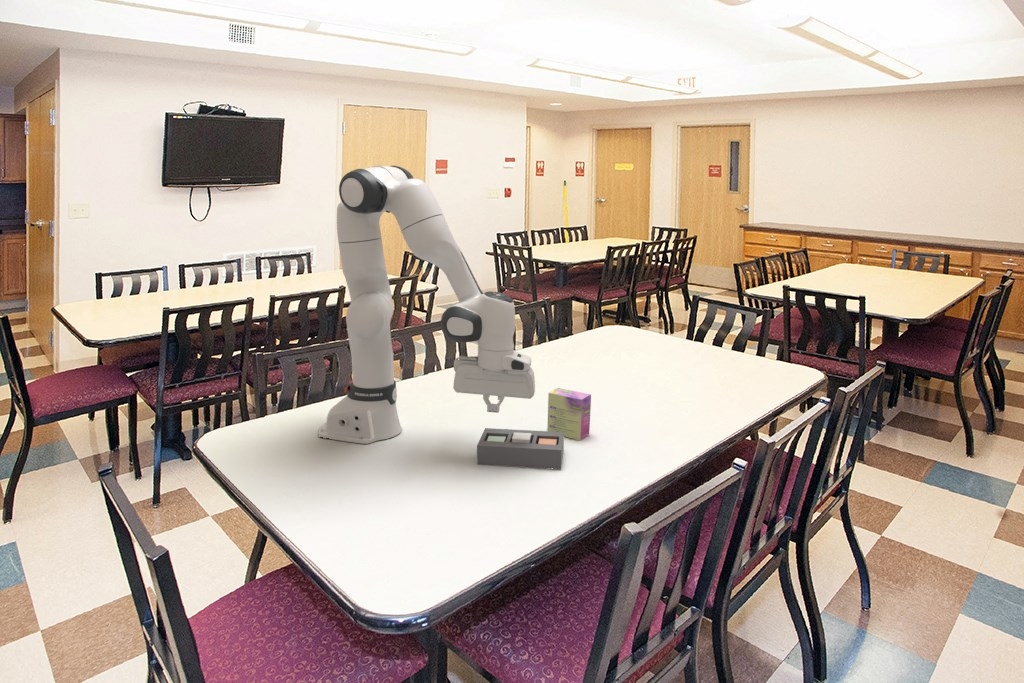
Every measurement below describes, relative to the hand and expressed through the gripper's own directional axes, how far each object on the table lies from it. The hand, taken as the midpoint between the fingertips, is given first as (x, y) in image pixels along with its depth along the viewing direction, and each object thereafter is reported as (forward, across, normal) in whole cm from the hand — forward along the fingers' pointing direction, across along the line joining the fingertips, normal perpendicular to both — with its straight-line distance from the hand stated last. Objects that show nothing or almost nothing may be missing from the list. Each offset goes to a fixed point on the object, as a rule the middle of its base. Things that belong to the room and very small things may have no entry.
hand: (493, 411), depth 172 cm
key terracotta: (+9, +14, 0) cm, 16 cm away
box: (+11, +19, +18) cm, 28 cm away
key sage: (+9, +1, 0) cm, 9 cm away
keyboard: (+11, +8, 0) cm, 14 cm away
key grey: (+7, +8, 0) cm, 11 cm away
